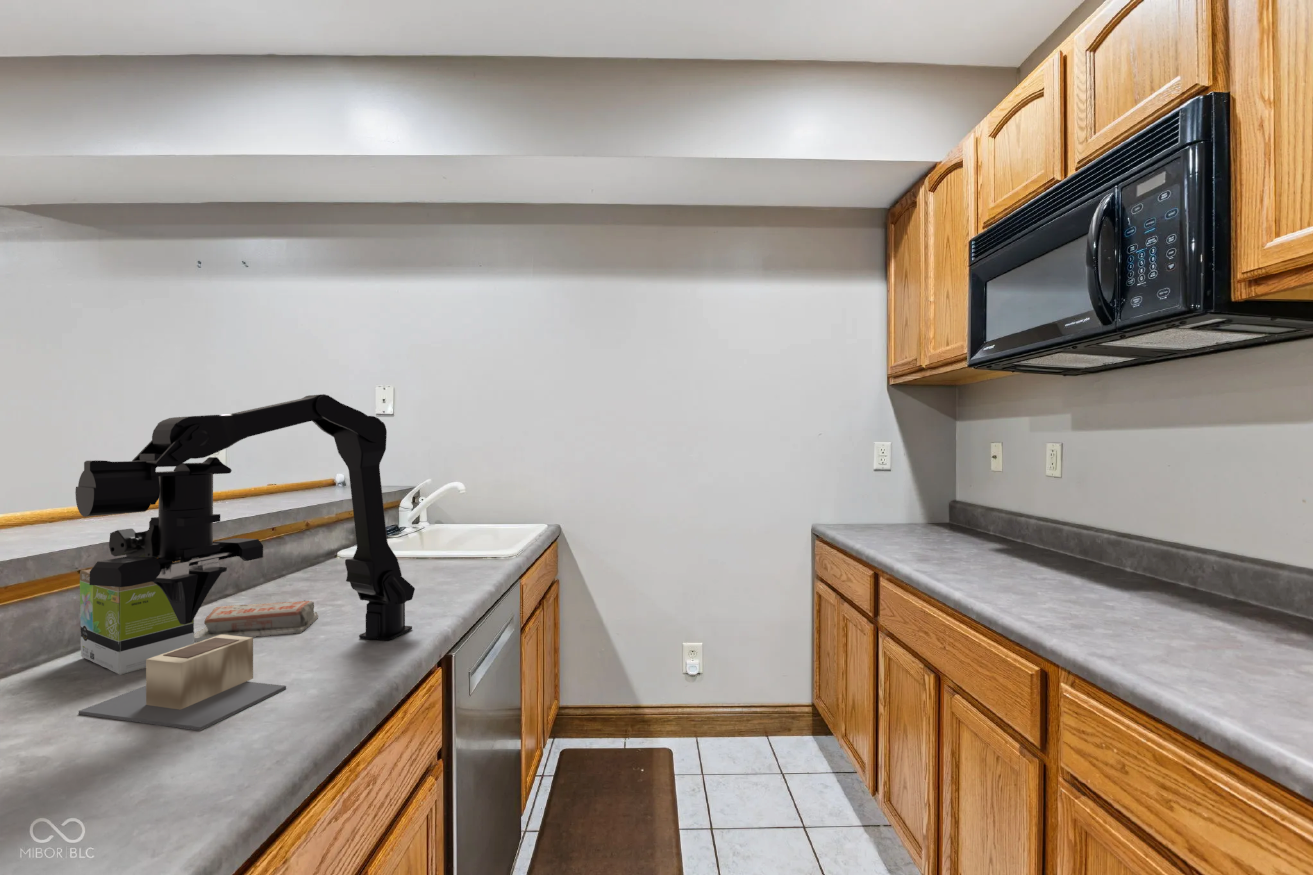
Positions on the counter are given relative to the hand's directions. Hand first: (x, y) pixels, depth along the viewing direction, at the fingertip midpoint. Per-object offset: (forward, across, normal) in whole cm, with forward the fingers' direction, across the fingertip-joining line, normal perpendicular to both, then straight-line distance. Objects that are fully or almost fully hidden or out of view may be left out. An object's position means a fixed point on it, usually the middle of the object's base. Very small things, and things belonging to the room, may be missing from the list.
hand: (185, 623), depth 77 cm
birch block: (+7, -7, 0) cm, 10 cm away
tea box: (+11, -11, -25) cm, 29 cm away
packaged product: (+11, -27, -18) cm, 34 cm away
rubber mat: (+10, 0, 0) cm, 11 cm away
